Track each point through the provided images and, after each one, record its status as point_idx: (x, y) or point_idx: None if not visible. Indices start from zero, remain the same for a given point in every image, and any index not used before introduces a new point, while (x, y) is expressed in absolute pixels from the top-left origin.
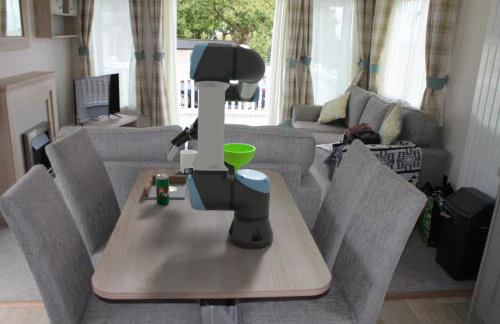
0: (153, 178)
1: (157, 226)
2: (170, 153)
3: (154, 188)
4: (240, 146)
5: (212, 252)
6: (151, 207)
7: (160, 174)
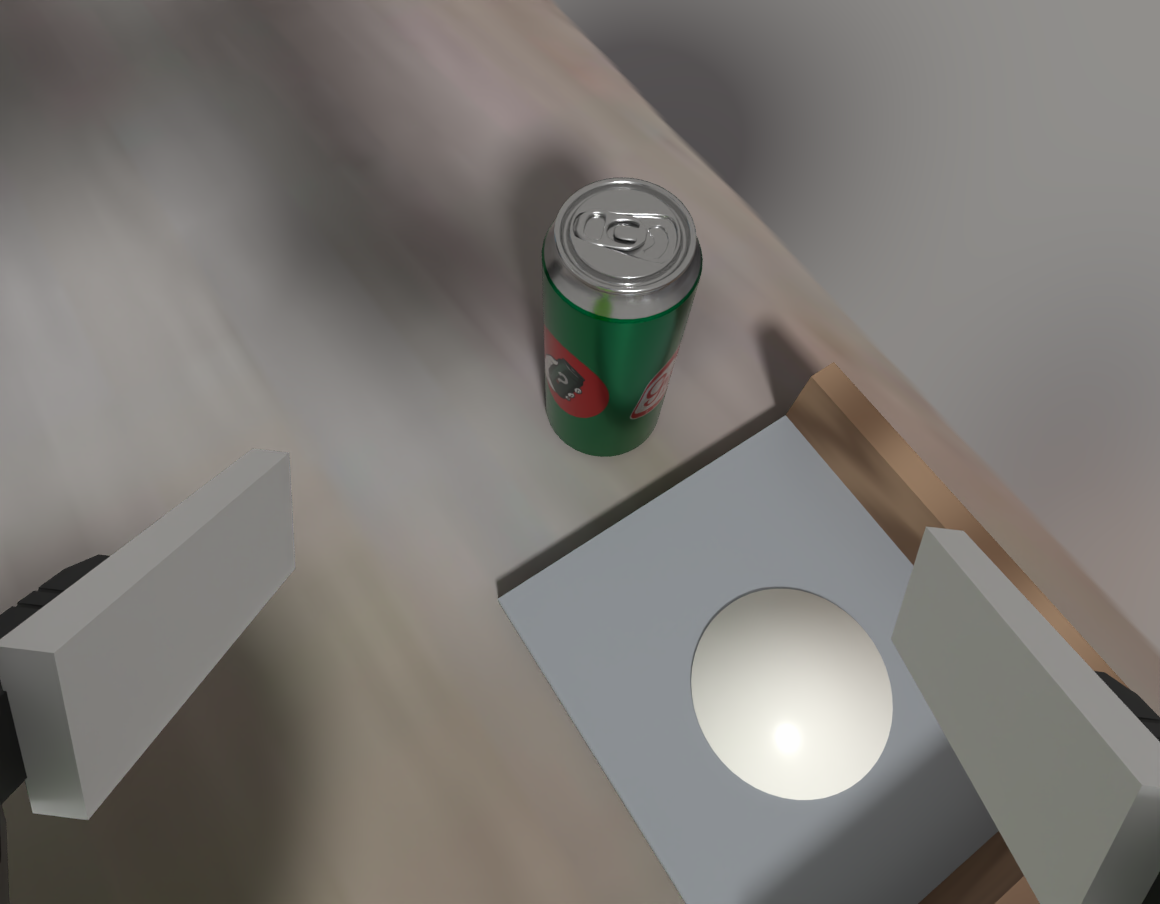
0: None
1: (378, 114)
2: (975, 586)
3: None
4: None
5: None
6: None
7: (671, 250)
